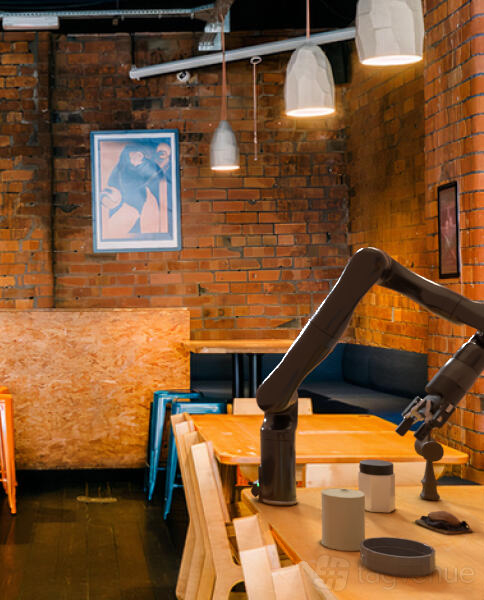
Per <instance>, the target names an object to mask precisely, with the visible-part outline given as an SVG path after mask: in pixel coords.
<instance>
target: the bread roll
mask: <svg viewBox="0 0 484 600" xmlns="http://www.w3.org/2000/svg"><path fill="white" fill-rule="evenodd" d="M414 522H415V523H416V524H418V525H420V526H423V527H425V528H427V529H431V530H433V531H435V532H439V533H442V534H445V535H455V534H456V535H458V534H466V533H472V532H473V529H472V528H471V527H470V524H468V523H467V521H465V520H460V519H459V518H458V517H457V516H456V515H454V514H453V513H452V512H448V511H445V510H436V511H431V512H429V513H427V515H421V517H420V518H418V519H415V521H414Z"/></svg>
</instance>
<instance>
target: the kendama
mask: <svg viewBox="0 0 484 600" xmlns="http://www.w3.org/2000/svg"><path fill="white" fill-rule="evenodd" d="M431 432H432V431H431ZM431 432H430V433H429V434H428V435H427V436H426V438H425V439H424V440H423V441H418V440H417V439H416V438H415V441H414V444H413V448H414V451H415V452H416V454H417V455H418V456H420V457H422V458H423V459H424V460H426V461H425V468H424V475H423V477H422V479H421V480H420V483H421V485H422V489H421V492H420V493H419V497H420V498H421V499H423V500H428V501H437V500H440V499H441V496H440V494H439V493H438V485H439V481H438V479H437V478H436V474H435V470H434V464H433V463H436V462H439V461H441V460H442V459H443V457H444V455H445V451H444V447H443V445H442V444H441V443H440V442H438V441H437V440H436V439H435V438H434V437H433V436H432V433H431Z"/></svg>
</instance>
